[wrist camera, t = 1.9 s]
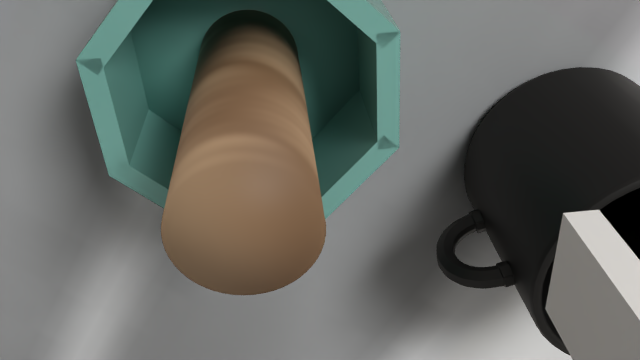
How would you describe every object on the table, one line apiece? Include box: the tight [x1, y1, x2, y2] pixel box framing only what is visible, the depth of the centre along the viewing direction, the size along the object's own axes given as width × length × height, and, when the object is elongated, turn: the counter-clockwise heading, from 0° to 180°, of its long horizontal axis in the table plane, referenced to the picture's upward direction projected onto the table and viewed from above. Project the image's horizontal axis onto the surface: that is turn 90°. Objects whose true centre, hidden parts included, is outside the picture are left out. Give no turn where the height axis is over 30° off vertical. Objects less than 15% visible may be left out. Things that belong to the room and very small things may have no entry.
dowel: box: [161, 10, 326, 295], centre depth 20 cm, size 4×4×12 cm
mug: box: [437, 67, 640, 355], centre depth 26 cm, size 9×12×9 cm
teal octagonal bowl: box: [76, 0, 400, 219], centre depth 23 cm, size 11×11×6 cm
